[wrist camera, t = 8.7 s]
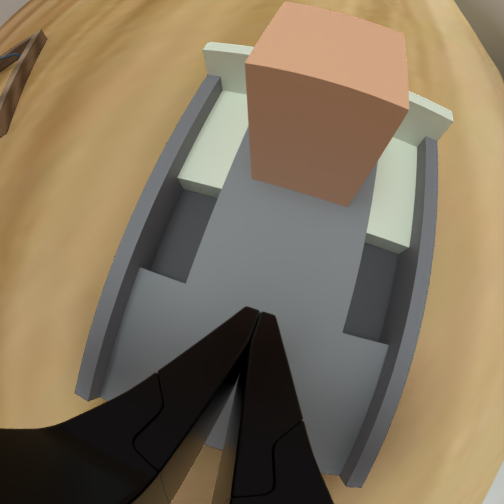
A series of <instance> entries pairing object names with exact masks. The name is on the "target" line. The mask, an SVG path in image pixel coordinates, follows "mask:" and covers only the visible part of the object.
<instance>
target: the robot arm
mask: <svg viewBox="0 0 504 504" xmlns="http://www.w3.org/2000/svg"><path fill="white" fill-rule="evenodd" d="M259 314H260V315H259ZM238 377H239V378H238ZM237 380H238V382H237ZM236 383H237V385H236ZM235 385H236V389H235V394H234V399H233V404H232V408H231V413H230V418H229V423H228V428H227V433H226V438H225V443H224V447H223V452H222V457H221V462H220V466H219V471H218V476H217V481H216V485H215V490H214V495H213V499H212V504H334V502H333V500H332V498H331V495H330V493H329V491H328V488H327V486H326V484H325V481H324V479H323V477H322V474H321V472H320V469H319V467H318V464H317V461H316V459H315V456H314V454H313V450H312V447H311V444H310V440H309V437H308V434H307V430H306V426H305V422H304V421H302V420H303V415H302V411H301V408H300V404H299V400H298V396H297V393H296V389H295V385H294V381H293V378H292V374H291V370H290V366H289V363H288V359H287V355H286V351H285V348H284V344H283V340H282V336H281V333H280V329H279V325H278V322H277V318H276V316H275V315H274V314H271V313H267V312H264V311H262V312H260V311H259V310H258V309H255V308H252V307H248V306H245V307H244V308H242V309H241V310H240V311H238V312H237V313H236V314H234V315H233V316H232V317H230V318H229V319H228V320H226V321H225V322H224V323H222V324H221V325H220V326H218V327H217V328H216V329H214V330H213V331H212V332H210V333H209V334H208V335H206V336H205V337H204V338H202V339H201V340H199V341H198V342H197V343H195V344H194V345H193V346H191V347H190V348H189V349H187V350H186V351H184V352H183V353H182V354H180V355H179V356H177V357H176V358H175V359H173V360H172V361H171V362H169V363H168V364H166V365H165V366H163V367H162V368H161V369H159V370H158V371H157V373H156V372H155V373H153V374H152V375H150V376H149V377H148V378H146V379H145V380H143V381H142V382H140V383H139V384H137V385H136V386H134V387H132V388H131V389H129V390H128V391H126V392H124V393H122V394H120V395H119V396H117V397H115V398H113V399H111V400H109V401H107V402H105V403H103V404H101V405H99V406H97V407H95V408H93V409H91V410H89V411H87V412H84V413H82V414H80V415H78V416H76V417H74V418H71V419H69V420H67V421H65V422H62V423H60V424H57V425H54V426H50V427H45V428H38V429H3V428H0V504H170V503H171V501H172V499H173V498H174V496H175V494H176V493H177V491H178V489H179V487H180V486H181V484H182V482H183V481H184V479H185V477H186V475H187V474H188V472H189V470H190V468H191V467H192V465H193V463H194V461H195V460H196V458H197V456H198V454H199V452H200V451H201V449H202V447H203V445H204V444H205V442H206V440H207V438H208V436H209V434H210V433H211V431H212V429H213V427H214V425H215V423H216V421H217V420H218V418H219V416H220V414H221V412H222V410H223V408H224V406H225V405H226V403H227V401H228V399H229V397H230V395H231V393H232V391H233V389H234V387H235Z"/></svg>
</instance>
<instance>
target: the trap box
mask: <svg viewBox="0 0 504 504" xmlns="http://www.w3.org/2000/svg"><path fill="white" fill-rule="evenodd" d="M253 49H254V47H250V46H243V45H235V44H226V43H215V42H208V43H207V45H206V46H205V47H204V48H203V54H204V59H205V64H206V70H207V77H206V78H205V80H204V81H203V83H202V84H201V86H200V87H199V89H198V91H197V92H196V94H195V95H194V97H193V99H192V100H191V102H190V104H189V105H188V107H187V109H186V110H185V112H184V114H183V115H182V117H181V119H180V121H179V122H178V124H177V126H176V128H175V129H174V131H173V133H172V135H171V137H170V139H169V140H168V142H167V144H166V146H165V148H164V150H163V152H162V153H161V155H160V157H159V159H158V161H157V163H156V165H155V167H154V169H153V171H152V173H151V175H150V177H149V179H148V181H147V183H146V185H145V188H144V190H143V192H142V194H141V196H140V198H139V200H138V203H137V205H136V207H135V209H134V212H133V214H132V216H131V218H130V221H129V223H128V225H127V228H126V230H125V233H124V235H123V237H122V240H121V242H120V245H119V247H118V250H117V253H116V255H115V258H114V260H113V263H112V266H111V268H110V271H109V274H108V277H107V279H106V282H105V285H104V288H103V291H102V294H101V297H100V300H99V303H98V306H97V309H96V313H95V316H94V319H93V322H92V326H91V329H90V333H89V336H88V340H87V343H86V347H85V351H84V355H83V359H82V363H81V367H80V371H79V375H78V380H77V384H76V389H75V394H77V395H78V396H80V397H81V398H83V399H85V400H86V401H90V400H93V399H96V398H99V397H101V398H103V399H105V400H107V401H109V400H111V399H113V398H115V397H117V396H119V395H120V394H122V393H124V392H126V391H128V390H129V389H131V388H132V387H134V386H136V385H137V384H139V383H140V382H142V381H143V380H145V379H146V378H148V377H149V376H150V375H152V374H153V373H155V372H156V373H157V371H158V370H159V369H161V368H162V367H163V366H165V365H166V364H168V363H169V362H171V361H172V360H173V359H175V358H176V357H177V356H179V355H180V354H182V353H183V352H184V351H186V350H187V349H189V348H190V347H191V346H193V345H194V344H195V343H197V342H198V341H199V340H201V339H202V338H204V337H205V336H206V335H208V334H209V333H210V332H212V331H213V330H214V329H216V328H217V327H218V326H220V325H221V324H222V323H224V322H225V321H226V320H228V319H229V318H230V317H232V316H233V315H234V314H236V313H237V312H238V311H240V310H241V309H242V308H244V307H245V306H248V307H252V308H255V309H258V310H259V311H260V312H262V311H264V312H267V313H271V314H274V315H275V316H276V318H277V322H278V325H279V329H280V333H281V336H282V340H283V344H284V348H285V351H286V355H287V359H288V363H289V366H290V370H291V374H292V378H293V381H294V385H295V389H296V393H297V396H298V400H299V404H300V408H301V411H302V415H303V420H302V421H304V422H305V426H306V430H307V434H308V437H309V440H310V444H311V447H312V450H313V454H314V456H315V459H316V461H317V464H318V467H319V469H320V472H321V473H323V474H330V475H339V476H340V478H341V479H342V481H343V483H344V485H345V486H346V487H357V488H361V487H362V485H363V484H364V482H365V480H366V478H367V476H368V474H369V472H370V470H371V468H372V466H373V464H374V461H375V459H376V457H377V455H378V453H379V451H380V448H381V446H382V444H383V442H384V439H385V437H386V434H387V432H388V430H389V427H390V425H391V422H392V419H393V417H394V414H395V411H396V409H397V406H398V403H399V400H400V398H401V395H402V392H403V389H404V386H405V382H406V379H407V376H408V373H409V369H410V366H411V363H412V359H413V355H414V352H415V348H416V344H417V340H418V336H419V332H420V327H421V323H422V318H423V314H424V309H425V304H426V298H427V293H428V287H429V281H430V274H431V267H432V260H433V251H434V242H435V231H436V218H437V199H438V148H437V141H438V140H439V139H440V138H441V136H442V135H443V134H444V133H445V131H446V130H447V129H448V128H449V126H450V125H451V124H452V123H453V115H452V111H450V110H448V109H446V108H444V107H442V106H440V105H438V104H436V103H434V102H432V101H430V100H428V99H426V98H424V97H421V96H419V95H417V94H415V93H412V92H410V91H409V111H408V113H407V114H406V116H405V118H404V119H403V121H402V123H401V124H400V126H399V128H398V129H397V131H396V133H395V134H394V136H393V137H392V139H391V141H390V142H389V144H388V145H387V147H386V149H385V150H384V152H383V153H382V155H381V157H380V158H379V160H378V161H377V163H376V164H375V166H374V167H373V169H372V171H371V172H370V174H369V175H368V177H367V178H366V180H365V181H364V183H363V184H362V186H361V187H360V189H359V190H358V192H357V193H356V195H355V196H354V198H353V199H352V201H351V202H350V204H349V205H348V207H345V206H342V205H339V204H335V203H332V202H329V201H326V200H323V199H320V198H317V197H313V196H310V195H307V194H304V193H300V192H297V191H294V190H290V189H287V188H283V187H280V186H276V185H273V184H269V183H266V182H262V181H258V180H255V179H252V176H251V159H250V142H249V125H248V109H247V92H246V76H245V62H246V60H247V58H248V57H249V55H250V53H251V52H252V50H253ZM259 315H260V314H259ZM238 378H239V377H238ZM237 382H238V380H237ZM236 385H237V383H236ZM236 385H235V387H234V389H233V391H232V393H231V395H230V397H229V399H228V401H227V403H226V405H225V406H224V408H223V410H222V412H221V414H220V416H219V418H218V420H217V421H216V423H215V425H214V427H213V429H212V431H211V433H210V434H209V436H208V438H207V440H206V442H205V445H208V446H211V447H214V448H217V449H220V450H223V447H224V443H225V438H226V433H227V428H228V423H229V418H230V413H231V408H232V404H233V399H234V394H235V389H236Z"/></svg>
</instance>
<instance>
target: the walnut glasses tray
mask: <svg viewBox="0 0 504 504" xmlns="http://www.w3.org/2000/svg"><path fill="white" fill-rule="evenodd" d="M46 40H47V38H46V36H45V34H44V33H43V31H42V29H41V30H39V31H38V32H36V33H34V34H33V35H31V36H29V37H28V38H26V39H25V40H23V41H22V42H20V43H19V44H17V45H16V46H14V47H13V48H11V49H10V50H8V51H7V52H5V53H4V54H3V55H1V56H0V58H1V57H4V56H7V55H10V54H13V53H18V54H19V55H20V58H19V57H18V56H17V55H13V56H10V57H7V58H4V59H1V60H0V72H1V71H2V70H3V69H5V68H6V67H8V66H9V65H11V64H12V63H14V62H15V61H17V60H18V59H19V60H18V62H17V64H16V66H15V68H14V69H13V71H12V73H11V75H10V77H9V79H8V81H7V83H6V86H5V88H4V90H3V92H2V94H1V96H0V137H2V136H3V135H5V134H6V133H7V131H8V128H9V125H10V122H11V119H12V116H13V113H14V110H15V107H16V105H17V102H18V100H19V97H20V94H21V92H22V90H23V87H24V85H25V83H26V80H27V78H28V76H29V74H30V71H31V69H32V67H33V65H34V63H35V61H36V59H37V57H38V55H39V53H40V51H41V49H42V47H43V45H44V44H45V42H46Z"/></svg>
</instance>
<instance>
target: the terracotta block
mask: <svg viewBox="0 0 504 504" xmlns="http://www.w3.org/2000/svg"><path fill="white" fill-rule="evenodd" d="M245 76H246V92H247V109H248V125H249V142H250V159H251V176H252V179H255V180H258V181H262V182H266V183H269V184H273V185H276V186H280V187H283V188H287V189H290V190H294V191H297V192H300V193H304V194H307V195H310V196H313V197H317V198H320V199H323V200H326V201H329V202H332V203H335V204H339V205H342V206H345V207H348V205H349V204H350V202H351V201H352V199H353V198H354V196H355V195H356V193H357V192H358V190H359V189H360V187H361V186H362V184H363V183H364V181H365V180H366V178H367V177H368V175H369V174H370V172H371V171H372V169H373V167H374V166H375V164H376V163H377V161H378V160H379V158H380V157H381V155H382V153H383V152H384V150H385V149H386V147H387V145H388V144H389V142H390V141H391V139H392V137H393V136H394V134H395V133H396V131H397V129H398V128H399V126H400V124H401V123H402V121H403V119H404V118H405V116H406V114H407V113H408V111H409V87H408V70H407V58H406V47H405V39H404V34H402V33H400V32H397V31H395V30H392V29H389V28H387V27H384V26H381V25H378V24H375V23H373V22H370V21H366V20H363V19H360V18H357V17H354V16H350V15H347V14H343V13H339V12H335V11H331V10H327V9H323V8H319V7H314V6H309V5H304V4H299V3H293V2H287V1H284V3H283V4H282V6H281V7H280V9H279V10H278V12H277V13H276V15H275V16H274V17H273V19H272V20H271V22H270V23H269V25H268V27H267V28H266V30H265V31H264V33H263V34H262V36H261V37H260V39H259V41H258V42H257V44H256V45H255V47H254V49H253V50H252V52H251V53H250V55H249V57H248V58H247V60H246V62H245Z"/></svg>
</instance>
